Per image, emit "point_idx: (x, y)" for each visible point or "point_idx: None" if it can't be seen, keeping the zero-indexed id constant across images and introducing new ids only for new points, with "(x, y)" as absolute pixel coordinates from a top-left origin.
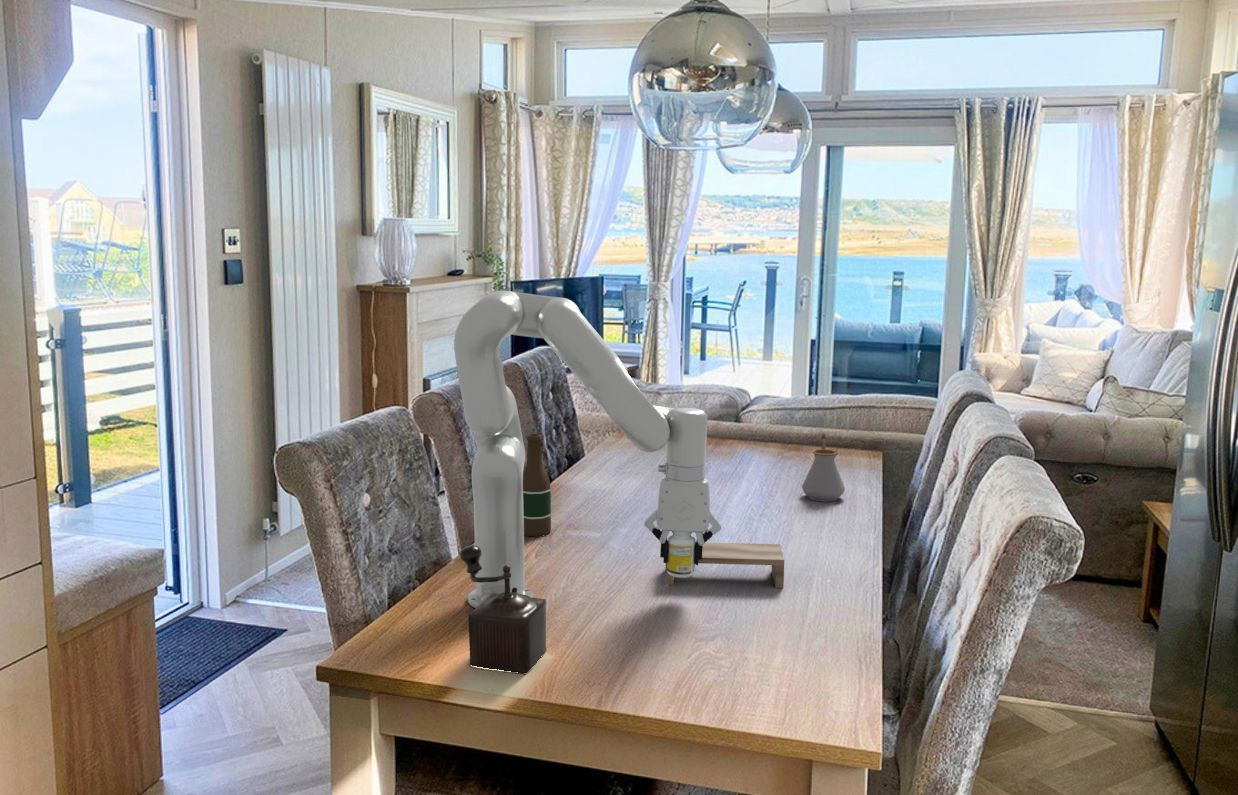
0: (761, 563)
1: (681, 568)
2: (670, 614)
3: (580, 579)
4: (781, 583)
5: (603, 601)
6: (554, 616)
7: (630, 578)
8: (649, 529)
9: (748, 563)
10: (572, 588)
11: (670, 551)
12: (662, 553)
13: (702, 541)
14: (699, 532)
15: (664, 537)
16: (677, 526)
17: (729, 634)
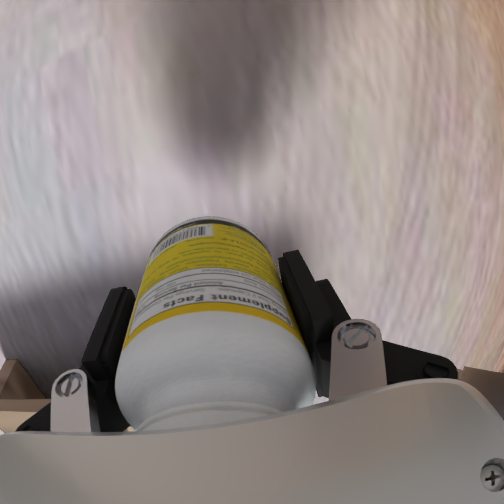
0: (20, 402)
1: (188, 234)
2: (207, 76)
3: (469, 273)
4: (5, 367)
5: (427, 143)
6: (492, 40)
7: (372, 321)
8: (474, 372)
9: (45, 401)
10: (485, 216)
11: (273, 294)
12: (320, 291)
13: (64, 393)
14: (33, 431)
15: (351, 356)
16: (243, 471)
17: (11, 14)
